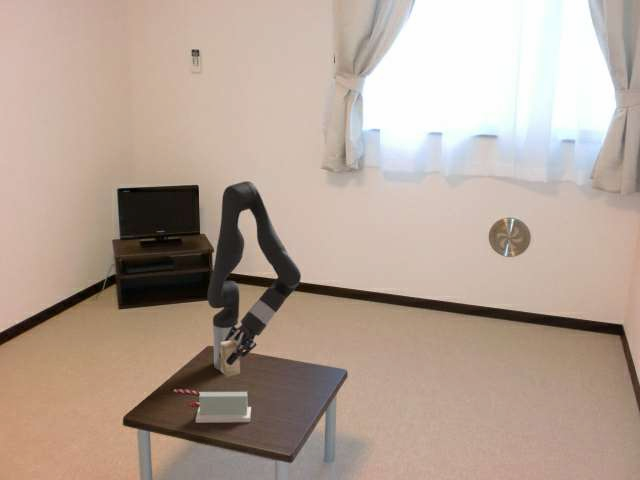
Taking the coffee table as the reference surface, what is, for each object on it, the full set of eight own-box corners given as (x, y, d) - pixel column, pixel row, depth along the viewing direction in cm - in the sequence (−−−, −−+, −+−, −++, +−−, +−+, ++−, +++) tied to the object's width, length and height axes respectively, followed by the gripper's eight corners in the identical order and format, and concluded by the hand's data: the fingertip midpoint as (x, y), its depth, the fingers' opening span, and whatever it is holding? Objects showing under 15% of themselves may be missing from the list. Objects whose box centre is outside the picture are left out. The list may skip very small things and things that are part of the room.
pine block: (220, 371, 200) (220, 342, 198) (233, 367, 202) (233, 339, 200) (227, 376, 196) (226, 347, 194) (240, 373, 199) (239, 344, 196)
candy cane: (180, 385, 221) (214, 395, 214) (180, 388, 221) (214, 399, 214) (165, 394, 214) (199, 405, 207) (165, 397, 215) (199, 409, 207)
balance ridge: (199, 411, 205) (198, 389, 203) (251, 410, 206) (250, 388, 204) (195, 422, 198) (195, 399, 196) (249, 422, 199) (249, 399, 197)
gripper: (240, 304, 204) (207, 346, 201) (261, 318, 193) (226, 363, 189) (255, 316, 208) (222, 357, 205) (276, 331, 197) (242, 375, 194)
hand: (224, 360), depth 197 cm, fingers closed on pine block, 4 cm apart
